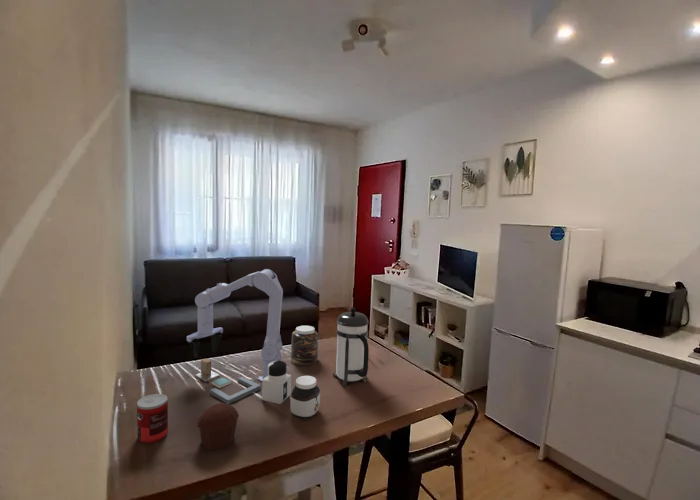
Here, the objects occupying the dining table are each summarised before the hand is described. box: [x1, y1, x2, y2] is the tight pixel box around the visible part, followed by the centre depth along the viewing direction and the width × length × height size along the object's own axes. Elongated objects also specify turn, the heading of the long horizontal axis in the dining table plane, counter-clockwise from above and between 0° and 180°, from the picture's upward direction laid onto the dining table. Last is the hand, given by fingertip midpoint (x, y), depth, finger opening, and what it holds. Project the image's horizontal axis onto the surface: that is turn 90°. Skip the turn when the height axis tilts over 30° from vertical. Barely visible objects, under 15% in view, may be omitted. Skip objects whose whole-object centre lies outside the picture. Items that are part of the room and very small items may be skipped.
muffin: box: [196, 402, 240, 451], centre depth 102 cm, size 12×11×10 cm
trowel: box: [195, 358, 220, 382], centre depth 141 cm, size 6×7×6 cm
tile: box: [211, 377, 232, 389], centre depth 136 cm, size 5×5×2 cm
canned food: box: [136, 393, 169, 444], centre depth 103 cm, size 8×8×11 cm
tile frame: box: [209, 376, 262, 405], centre depth 130 cm, size 11×14×2 cm
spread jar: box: [289, 375, 321, 420], centre depth 119 cm, size 12×11×12 cm
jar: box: [290, 325, 319, 366], centre depth 160 cm, size 12×12×15 cm
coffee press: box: [332, 306, 370, 388], centre depth 142 cm, size 17×16×30 cm
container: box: [261, 360, 292, 405], centre depth 127 cm, size 8×8×13 cm
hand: (205, 354), depth 141 cm, fingers open, 7 cm apart
